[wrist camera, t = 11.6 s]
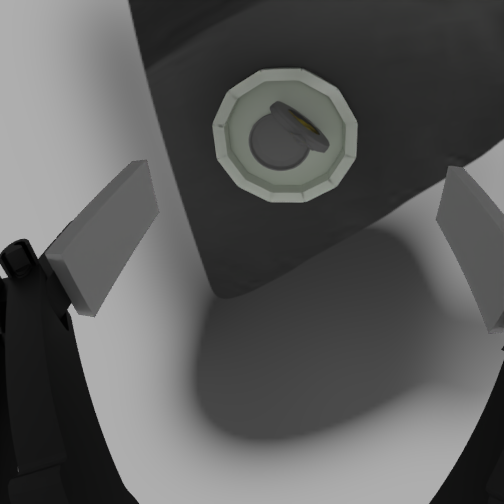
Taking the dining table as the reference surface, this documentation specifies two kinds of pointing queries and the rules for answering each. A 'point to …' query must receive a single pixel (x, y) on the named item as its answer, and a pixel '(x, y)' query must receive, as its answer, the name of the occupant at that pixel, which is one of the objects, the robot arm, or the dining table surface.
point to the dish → (258, 105)
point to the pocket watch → (284, 138)
